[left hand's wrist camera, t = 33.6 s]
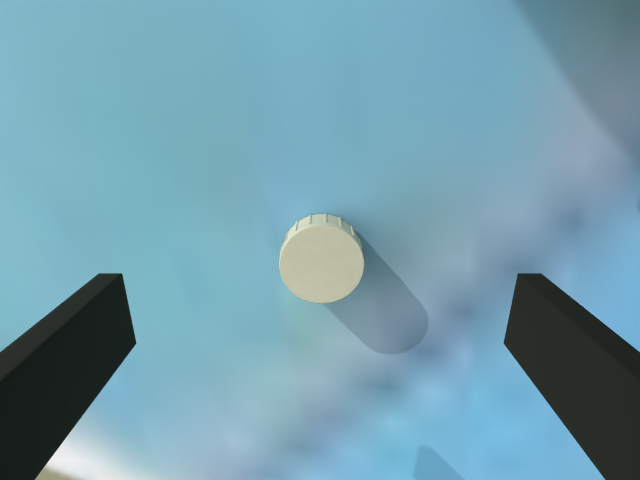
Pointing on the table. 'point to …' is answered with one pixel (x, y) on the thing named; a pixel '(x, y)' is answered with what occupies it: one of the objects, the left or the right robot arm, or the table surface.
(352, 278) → the cap
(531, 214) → the table surface
